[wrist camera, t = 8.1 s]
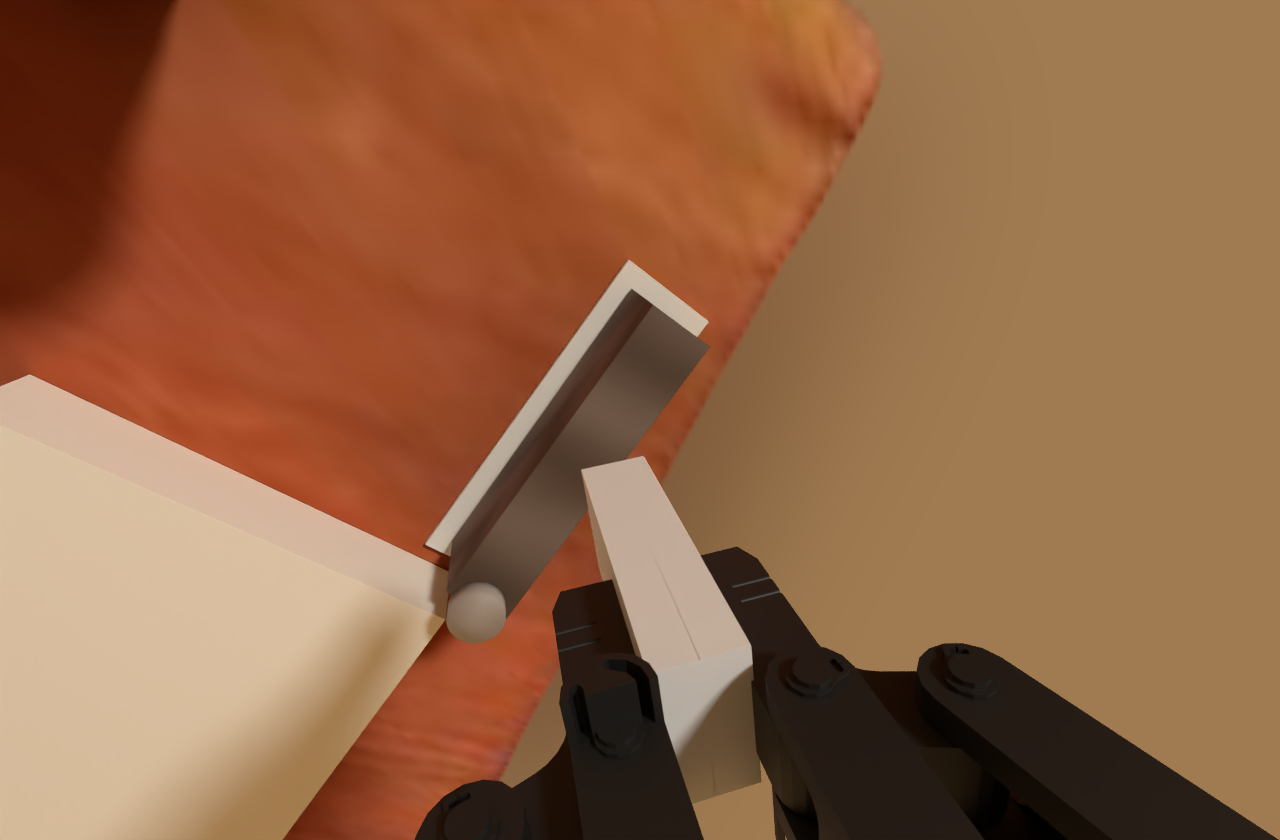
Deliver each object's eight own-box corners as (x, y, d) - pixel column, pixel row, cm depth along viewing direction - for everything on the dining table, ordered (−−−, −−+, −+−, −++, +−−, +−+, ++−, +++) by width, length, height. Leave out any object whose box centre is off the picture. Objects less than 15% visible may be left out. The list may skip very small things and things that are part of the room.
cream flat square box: (-158, 712, 29) (-250, 787, 26) (30, 374, 26) (-46, 404, 23) (265, 825, 37) (241, 895, 33) (450, 572, 34) (445, 619, 30)
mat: (425, 541, 33) (425, 544, 33) (627, 258, 30) (628, 259, 30) (509, 582, 35) (509, 585, 34) (706, 320, 32) (708, 321, 32)
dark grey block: (491, 583, 34) (491, 653, 29) (438, 559, 33) (429, 627, 28) (681, 325, 31) (717, 352, 26) (631, 288, 30) (659, 309, 25)
